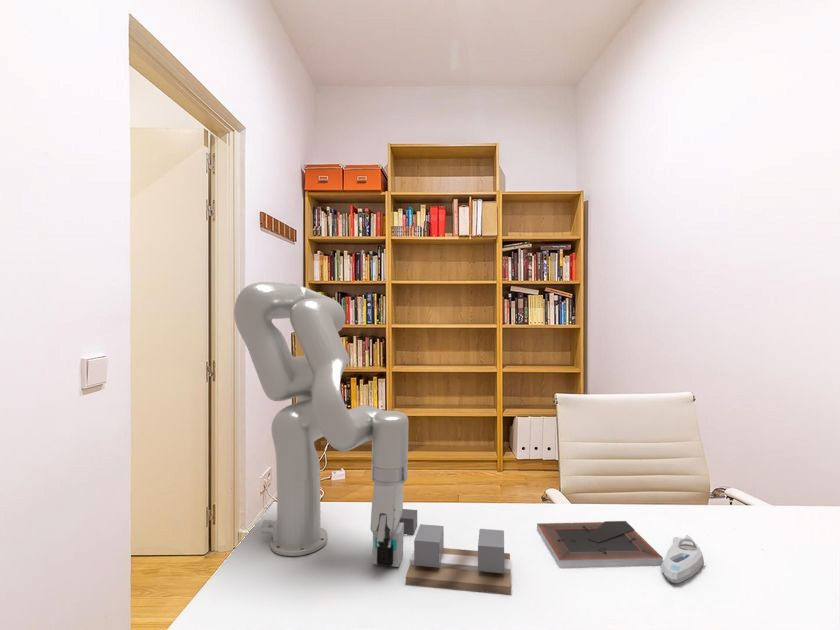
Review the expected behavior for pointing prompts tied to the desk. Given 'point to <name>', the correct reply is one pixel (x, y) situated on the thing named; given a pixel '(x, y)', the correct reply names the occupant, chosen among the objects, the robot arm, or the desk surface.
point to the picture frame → (597, 545)
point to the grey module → (396, 543)
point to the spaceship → (682, 560)
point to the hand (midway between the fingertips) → (388, 556)
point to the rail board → (460, 573)
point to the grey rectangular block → (409, 521)
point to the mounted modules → (432, 547)
